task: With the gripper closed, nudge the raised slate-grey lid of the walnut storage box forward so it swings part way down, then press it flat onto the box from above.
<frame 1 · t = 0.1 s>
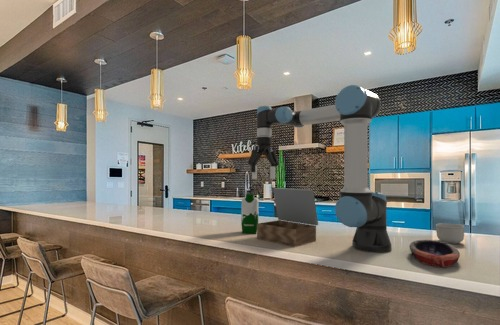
hand: (263, 179, 151), 28 cm above the worktop, tool pointing down, fingers open, 13 cm apart
teacup: (448, 242, 138), on the worktop
lid: (294, 205, 144), point 15 cm above the worktop, hinge at 75.0°
dish: (433, 259, 109), on the worktop
milk carton: (249, 232, 156), on the worktop
walnut box: (286, 239, 139), on the worktop
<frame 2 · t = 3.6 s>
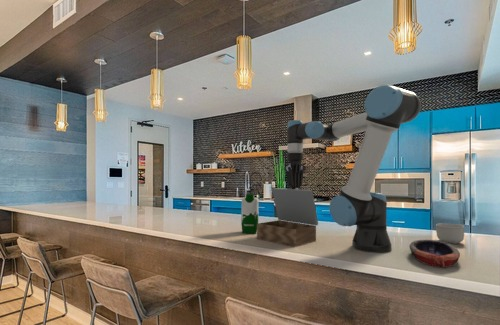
hand: (295, 201, 145), 17 cm above the worktop, tool pointing down, fingers closed
lid: (294, 205, 144), point 15 cm above the worktop, hinge at 72.4°, touching gripper
everything else where it was.
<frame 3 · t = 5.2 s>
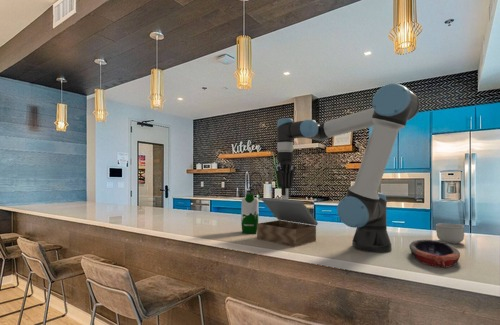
hand: (285, 202, 139), 17 cm above the worktop, tool pointing down, fingers closed
lid: (289, 210, 141), point 13 cm above the worktop, hinge at 40.7°
everything else where it was.
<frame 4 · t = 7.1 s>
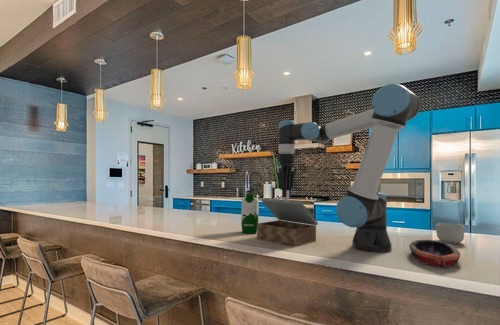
hand: (285, 204, 140), 17 cm above the worktop, tool pointing down, fingers closed
lid: (288, 211, 141), point 13 cm above the worktop, hinge at 39.0°, touching gripper
everything else where it was.
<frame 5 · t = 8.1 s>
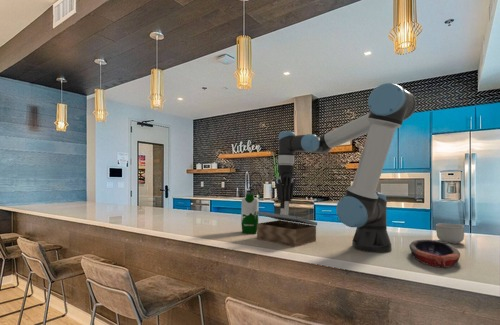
hand: (284, 215, 139), 11 cm above the worktop, tool pointing down, fingers closed
lid: (286, 217, 139), point 10 cm above the worktop, hinge at 15.2°, touching gripper
everything else where it was.
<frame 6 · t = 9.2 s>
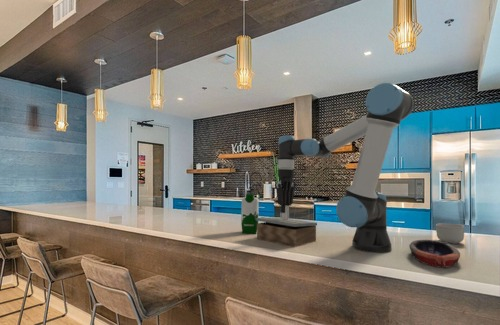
hand: (285, 219, 139), 9 cm above the worktop, tool pointing down, fingers closed
lid: (285, 221, 139), point 9 cm above the worktop, hinge at 4.5°, touching gripper
everything else where it was.
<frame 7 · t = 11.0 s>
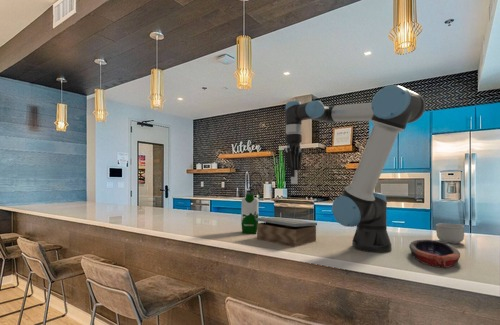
hand: (294, 183, 141), 26 cm above the worktop, tool pointing down, fingers closed
lid: (285, 221, 139), point 9 cm above the worktop, hinge at 4.5°
everything else where it was.
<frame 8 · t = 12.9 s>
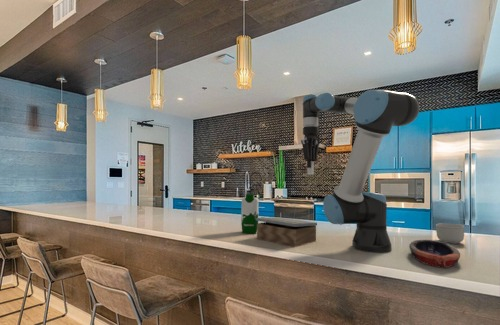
hand: (310, 174, 147), 30 cm above the worktop, tool pointing down, fingers closed
nothing on the worktop moved.
at the end: lid at +4° (first picture: +75°); milk carton moved 0.2 cm from its start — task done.
